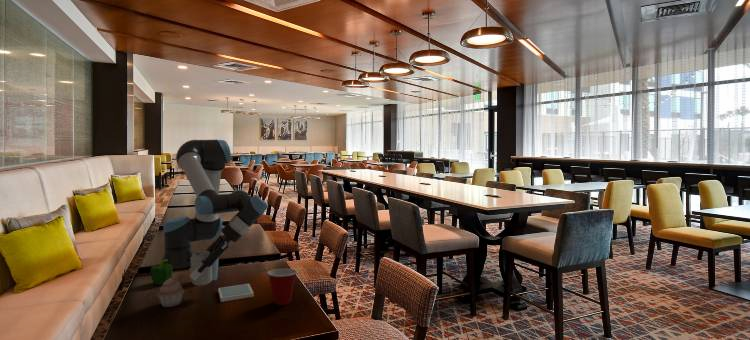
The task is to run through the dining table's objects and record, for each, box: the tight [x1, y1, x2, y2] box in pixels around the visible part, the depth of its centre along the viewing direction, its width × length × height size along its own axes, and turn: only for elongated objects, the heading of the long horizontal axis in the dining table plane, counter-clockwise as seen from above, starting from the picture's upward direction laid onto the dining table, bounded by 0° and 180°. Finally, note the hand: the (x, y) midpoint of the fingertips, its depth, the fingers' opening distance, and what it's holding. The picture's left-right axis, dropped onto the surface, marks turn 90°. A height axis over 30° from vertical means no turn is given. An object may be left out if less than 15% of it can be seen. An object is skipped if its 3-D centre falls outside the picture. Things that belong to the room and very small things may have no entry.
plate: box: [217, 283, 255, 303], centre depth 162 cm, size 12×12×2 cm
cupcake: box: [156, 277, 185, 308], centre depth 152 cm, size 9×9×10 cm
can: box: [190, 250, 213, 286], centre depth 158 cm, size 8×8×12 cm
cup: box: [211, 256, 220, 282], centre depth 180 cm, size 8×8×10 cm
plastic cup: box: [267, 268, 298, 306], centre depth 152 cm, size 11×11×12 cm
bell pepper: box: [150, 260, 174, 286], centre depth 176 cm, size 8×8×10 cm
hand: (192, 274), depth 157 cm, fingers closed on can, 7 cm apart
